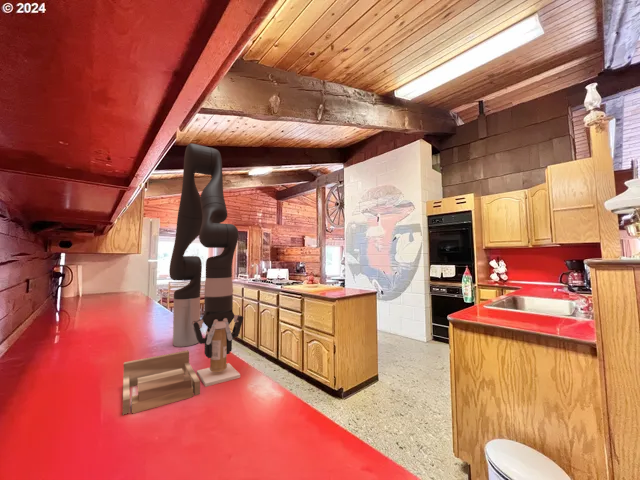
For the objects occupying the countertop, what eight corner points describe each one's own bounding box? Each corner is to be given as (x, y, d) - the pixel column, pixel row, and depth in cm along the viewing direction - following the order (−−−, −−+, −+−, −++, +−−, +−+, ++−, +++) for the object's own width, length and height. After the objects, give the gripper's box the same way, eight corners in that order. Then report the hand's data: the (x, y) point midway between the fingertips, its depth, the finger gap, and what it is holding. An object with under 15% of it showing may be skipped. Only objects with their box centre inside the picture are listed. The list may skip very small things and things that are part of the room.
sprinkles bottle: (230, 368, 78) (230, 319, 78) (215, 374, 74) (216, 322, 75) (220, 364, 80) (221, 317, 81) (206, 370, 77) (206, 320, 77)
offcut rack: (123, 386, 71) (123, 362, 71) (187, 371, 80) (188, 350, 80) (122, 416, 58) (123, 386, 58) (200, 394, 66) (200, 368, 67)
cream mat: (197, 373, 78) (197, 370, 78) (229, 365, 84) (229, 363, 84) (205, 386, 70) (205, 383, 70) (240, 377, 75) (240, 374, 75)
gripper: (239, 290, 85) (239, 346, 84) (188, 294, 77) (187, 357, 76) (248, 292, 79) (247, 353, 78) (194, 297, 71) (193, 365, 70)
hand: (218, 355), depth 77 cm, fingers closed on sprinkles bottle, 4 cm apart
